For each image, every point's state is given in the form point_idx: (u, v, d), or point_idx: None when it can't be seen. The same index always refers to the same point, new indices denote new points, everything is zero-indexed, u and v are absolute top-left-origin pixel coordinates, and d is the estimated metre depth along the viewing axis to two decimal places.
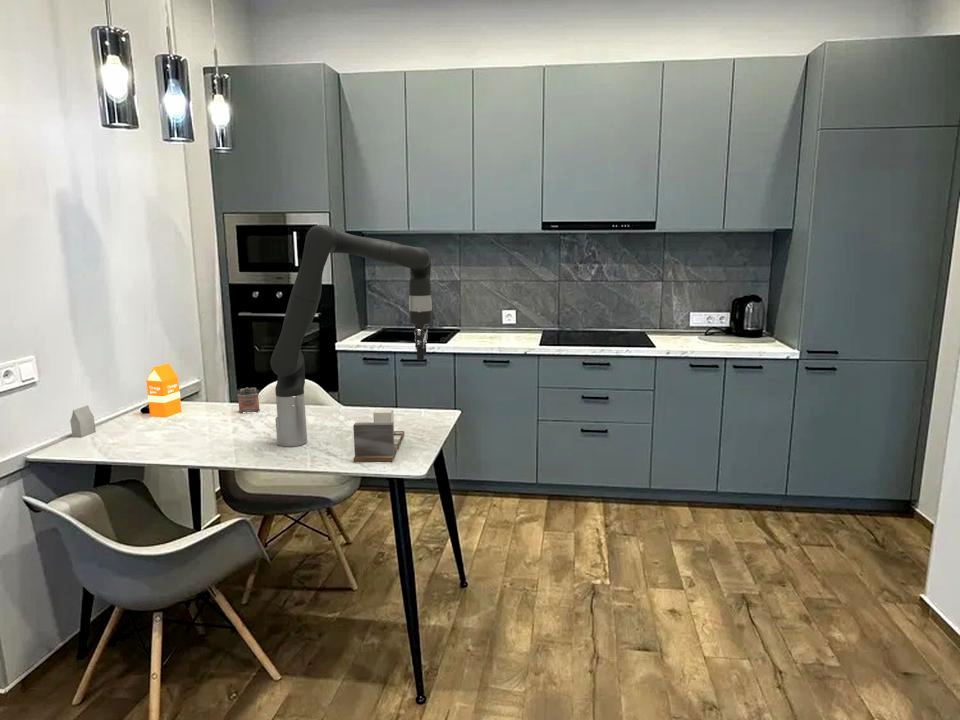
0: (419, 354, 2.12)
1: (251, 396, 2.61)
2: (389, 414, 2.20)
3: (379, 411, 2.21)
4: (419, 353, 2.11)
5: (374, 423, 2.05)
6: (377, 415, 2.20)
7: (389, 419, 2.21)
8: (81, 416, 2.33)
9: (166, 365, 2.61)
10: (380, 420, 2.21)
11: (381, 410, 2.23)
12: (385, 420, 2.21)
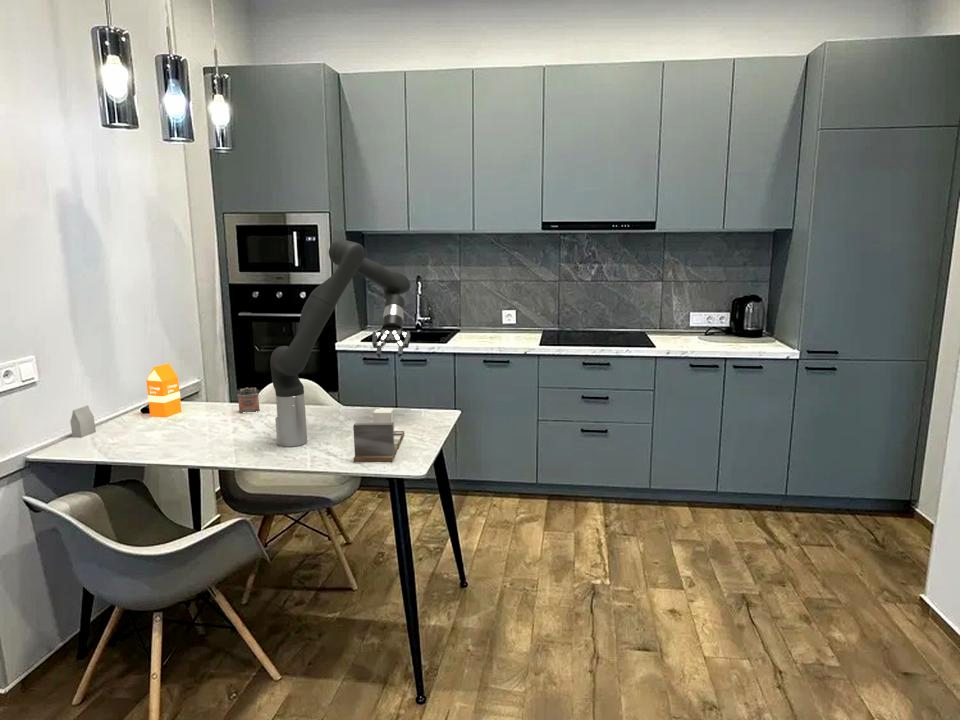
0: (402, 351, 2.36)
1: (251, 396, 2.61)
2: (389, 414, 2.20)
3: (379, 411, 2.21)
4: (402, 350, 2.37)
5: (374, 423, 2.05)
6: (377, 415, 2.20)
7: (389, 419, 2.21)
8: (81, 416, 2.33)
9: (166, 365, 2.61)
10: (380, 420, 2.21)
11: (381, 410, 2.23)
12: (385, 420, 2.21)
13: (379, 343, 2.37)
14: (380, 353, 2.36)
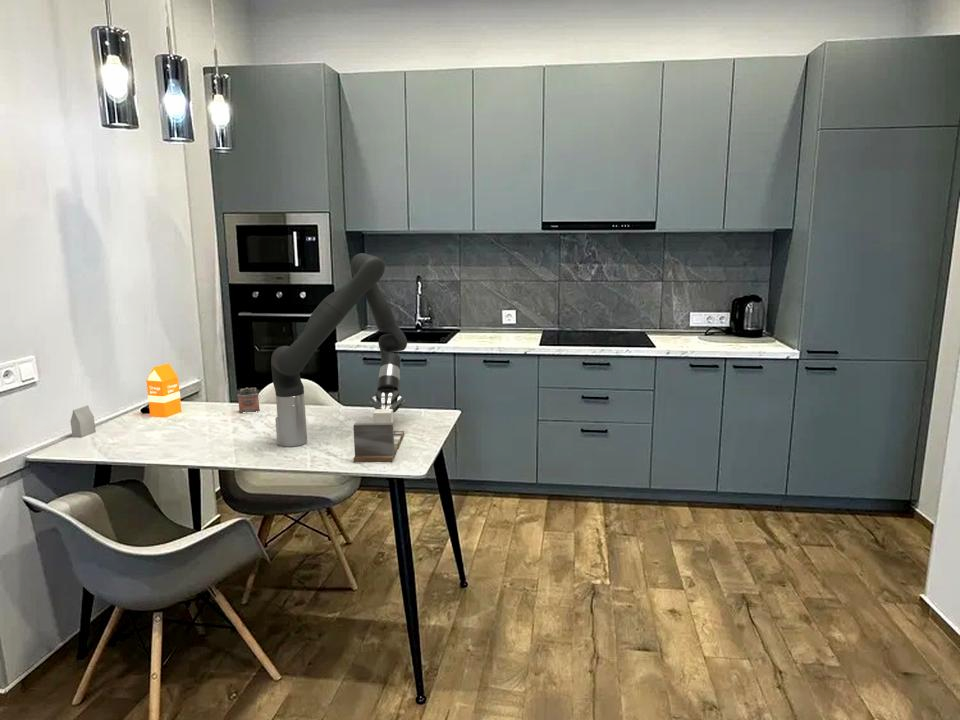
0: None
1: (251, 396, 2.61)
2: (389, 414, 2.20)
3: (379, 412, 2.21)
4: None
5: (374, 423, 2.05)
6: (377, 415, 2.20)
7: (389, 419, 2.20)
8: (81, 416, 2.33)
9: (166, 365, 2.61)
10: (380, 420, 2.20)
11: (381, 410, 2.23)
12: (385, 420, 2.20)
13: (383, 408, 2.28)
14: None
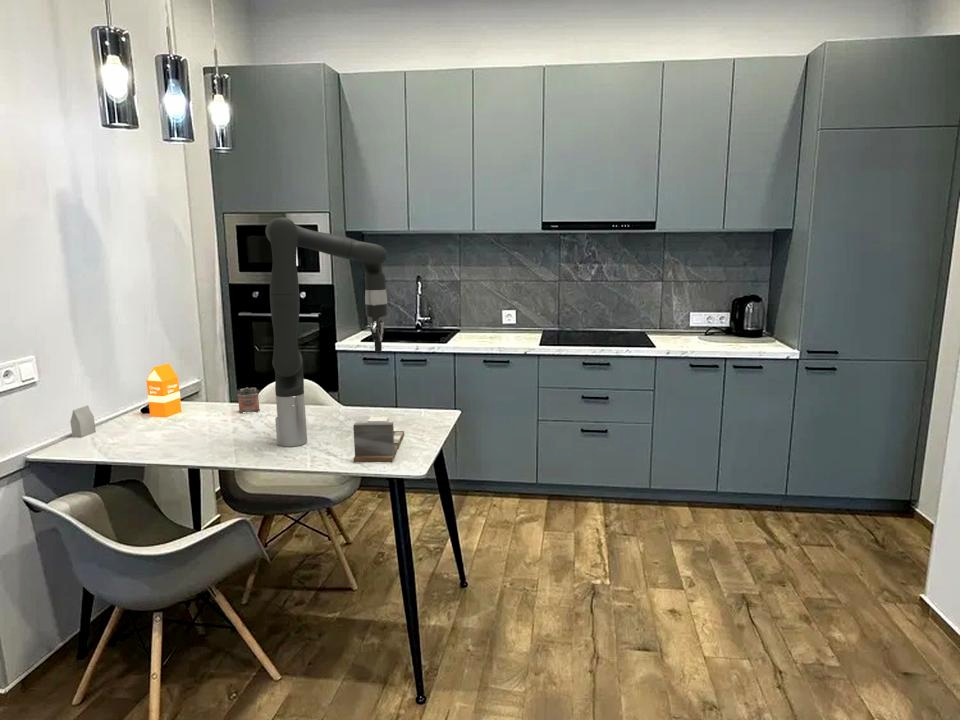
0: (376, 346, 2.29)
1: (251, 396, 2.61)
2: None
3: (374, 420, 2.11)
4: (376, 345, 2.29)
5: (374, 423, 2.05)
6: None
7: None
8: (81, 416, 2.33)
9: (166, 365, 2.61)
10: None
11: (376, 418, 2.13)
12: None
13: None
14: None
